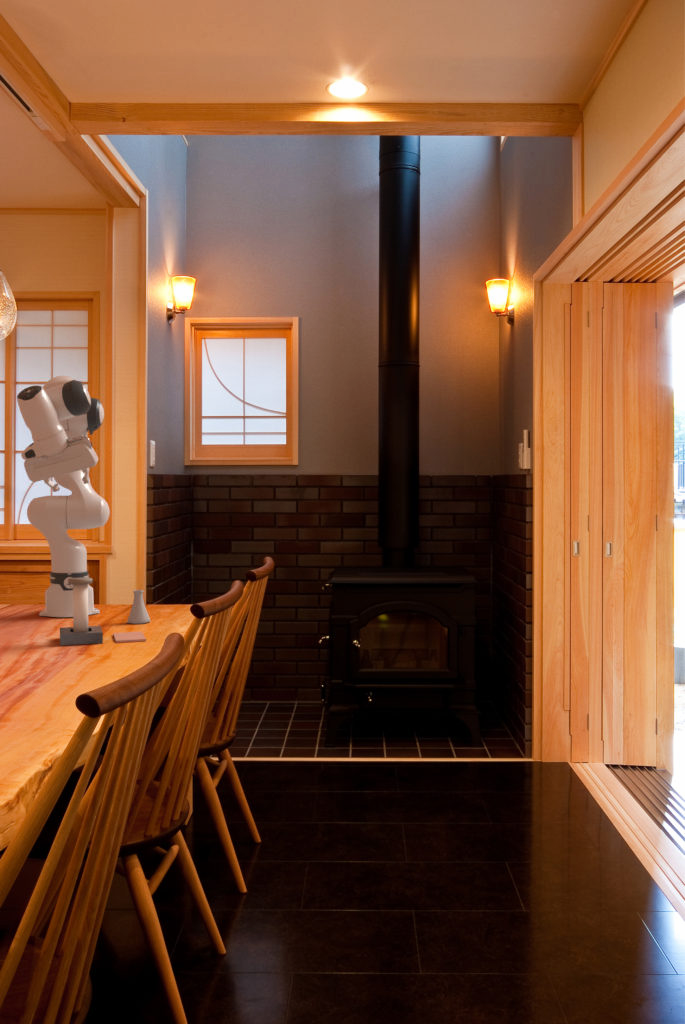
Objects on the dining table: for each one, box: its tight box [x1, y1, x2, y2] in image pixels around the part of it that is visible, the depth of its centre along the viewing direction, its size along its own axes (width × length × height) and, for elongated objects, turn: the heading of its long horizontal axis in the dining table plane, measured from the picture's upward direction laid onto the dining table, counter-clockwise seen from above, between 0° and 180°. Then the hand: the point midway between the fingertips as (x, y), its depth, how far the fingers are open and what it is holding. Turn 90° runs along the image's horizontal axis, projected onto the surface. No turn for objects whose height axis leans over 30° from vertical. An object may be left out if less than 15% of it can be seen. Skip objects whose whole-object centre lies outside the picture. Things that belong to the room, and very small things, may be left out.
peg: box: [68, 577, 94, 632], centre depth 239 cm, size 6×6×17 cm
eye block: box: [59, 625, 104, 647], centre depth 240 cm, size 11×11×3 cm
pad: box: [112, 631, 147, 644], centre depth 244 cm, size 12×8×1 cm, turn 19°
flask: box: [126, 589, 151, 625], centre depth 270 cm, size 7×7×10 cm
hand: (72, 486), depth 249 cm, fingers open, 8 cm apart
